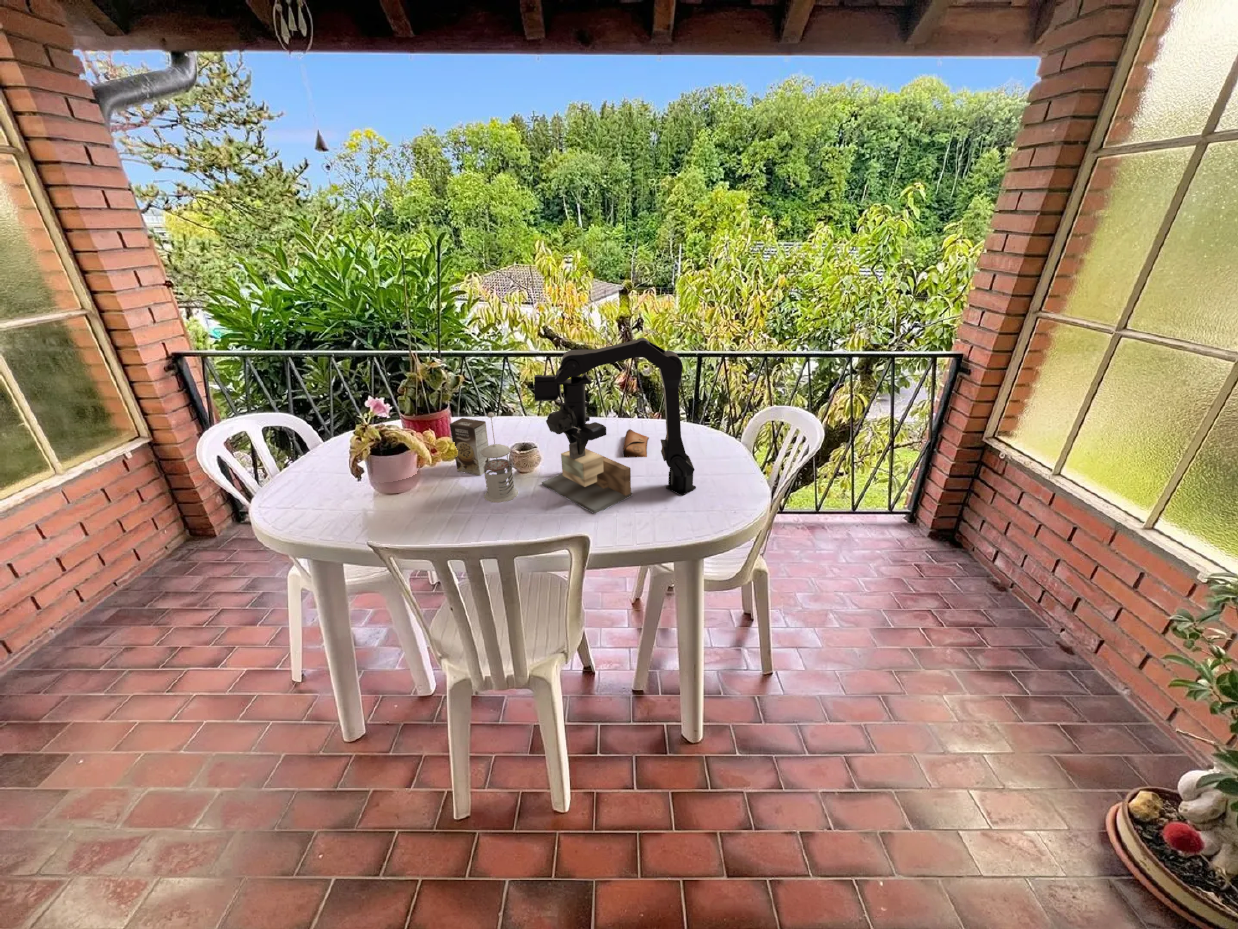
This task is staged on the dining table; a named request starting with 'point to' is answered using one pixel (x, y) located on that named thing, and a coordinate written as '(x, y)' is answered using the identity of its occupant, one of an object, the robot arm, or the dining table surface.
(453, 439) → the coffee box
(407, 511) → the dining table surface
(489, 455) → the french press
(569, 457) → the wooden block
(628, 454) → the sunglasses case
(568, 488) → the wall board
